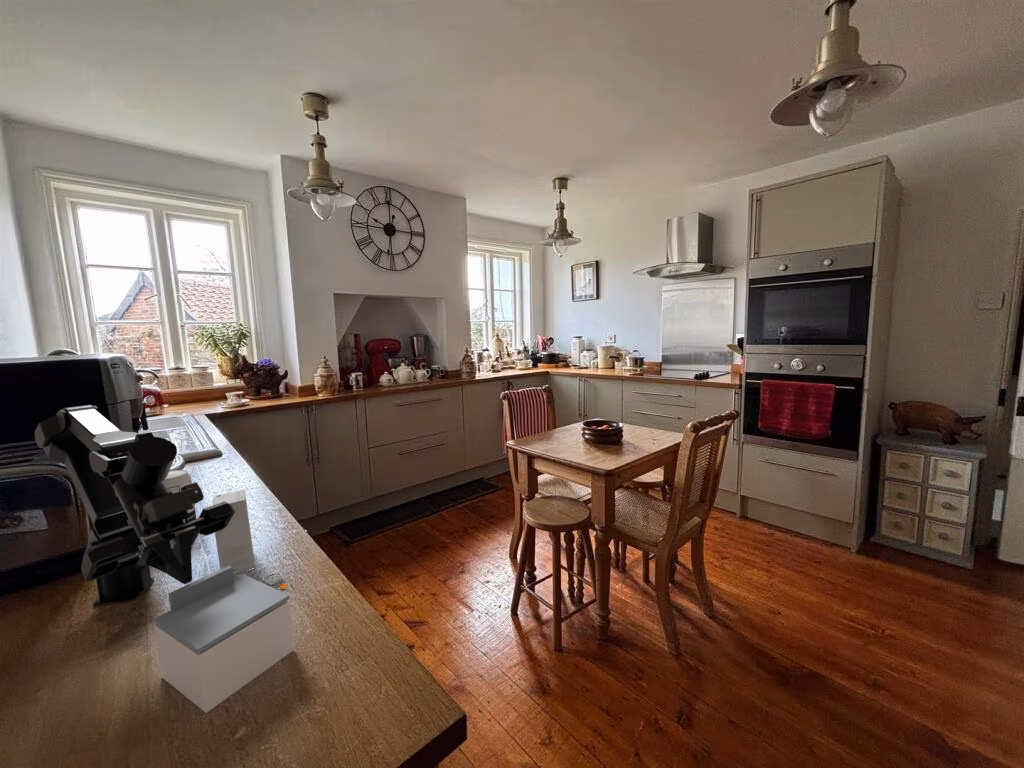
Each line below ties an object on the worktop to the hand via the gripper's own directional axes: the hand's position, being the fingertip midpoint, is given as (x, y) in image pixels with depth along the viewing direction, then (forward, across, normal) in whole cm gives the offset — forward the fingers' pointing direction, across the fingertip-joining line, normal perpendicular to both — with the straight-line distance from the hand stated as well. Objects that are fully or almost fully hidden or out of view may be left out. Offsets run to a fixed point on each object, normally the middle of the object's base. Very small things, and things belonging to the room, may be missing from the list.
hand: (188, 582), depth 65 cm
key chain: (+6, +13, +8) cm, 17 cm away
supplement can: (-25, +16, +39) cm, 49 cm away
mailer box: (+14, 0, 0) cm, 14 cm away
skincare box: (-5, +15, +19) cm, 25 cm away
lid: (+8, 0, -6) cm, 10 cm away
